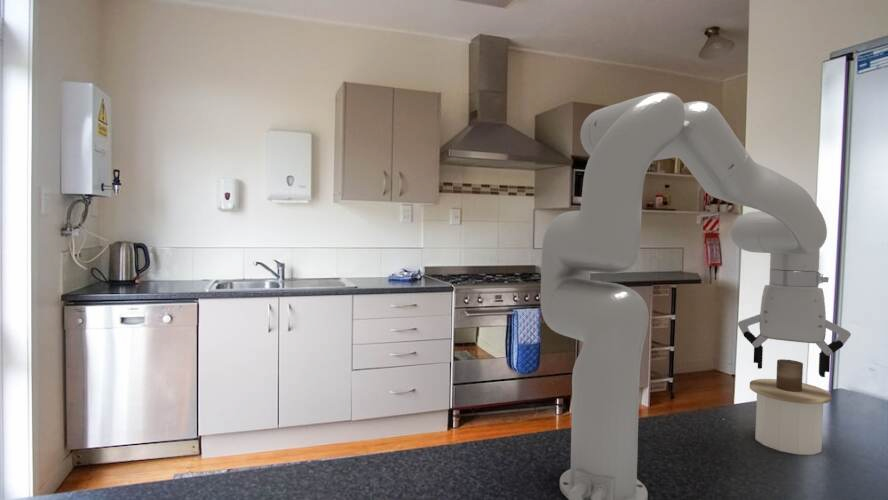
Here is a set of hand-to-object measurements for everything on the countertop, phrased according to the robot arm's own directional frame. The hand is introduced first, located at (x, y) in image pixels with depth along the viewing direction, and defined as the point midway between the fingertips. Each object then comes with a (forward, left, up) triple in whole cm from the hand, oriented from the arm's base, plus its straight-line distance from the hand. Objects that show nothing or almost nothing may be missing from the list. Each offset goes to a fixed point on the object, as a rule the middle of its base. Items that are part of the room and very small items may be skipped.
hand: (789, 371), depth 96 cm
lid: (0, 0, -4) cm, 4 cm away
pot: (0, 0, -14) cm, 14 cm away
